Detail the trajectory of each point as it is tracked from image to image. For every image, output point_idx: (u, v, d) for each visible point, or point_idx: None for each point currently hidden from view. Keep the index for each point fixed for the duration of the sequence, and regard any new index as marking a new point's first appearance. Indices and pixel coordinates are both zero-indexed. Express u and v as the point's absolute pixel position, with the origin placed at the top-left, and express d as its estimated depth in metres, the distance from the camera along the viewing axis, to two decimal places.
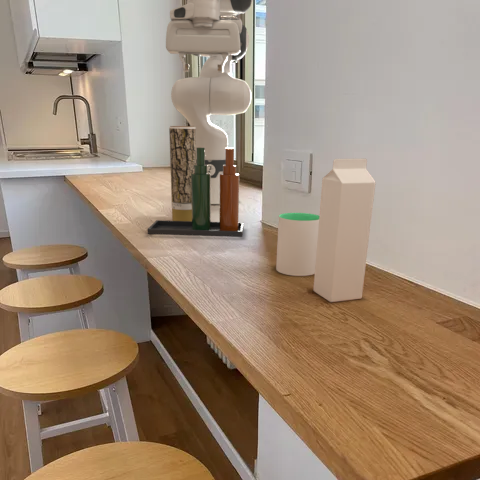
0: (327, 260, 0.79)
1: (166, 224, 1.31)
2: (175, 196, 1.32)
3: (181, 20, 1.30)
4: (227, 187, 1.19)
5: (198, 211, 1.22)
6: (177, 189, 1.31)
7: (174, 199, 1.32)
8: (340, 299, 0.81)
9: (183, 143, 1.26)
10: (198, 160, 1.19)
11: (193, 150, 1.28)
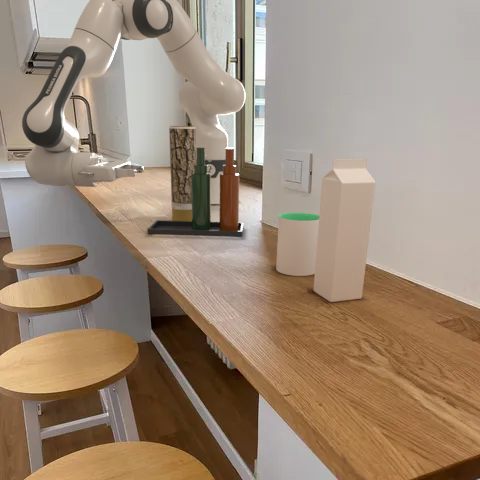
0: (327, 260, 0.79)
1: (166, 224, 1.31)
2: (175, 196, 1.32)
3: None
4: (227, 187, 1.19)
5: (198, 211, 1.22)
6: (177, 189, 1.31)
7: (174, 199, 1.32)
8: (340, 299, 0.81)
9: (183, 143, 1.26)
10: (198, 160, 1.19)
11: (193, 150, 1.28)
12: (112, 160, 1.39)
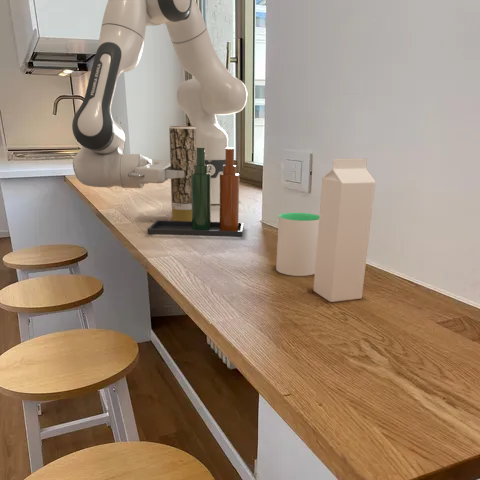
0: (327, 260, 0.79)
1: (166, 224, 1.31)
2: (175, 196, 1.32)
3: None
4: (227, 187, 1.19)
5: (198, 211, 1.22)
6: (177, 189, 1.31)
7: (174, 199, 1.32)
8: (340, 299, 0.81)
9: (183, 143, 1.26)
10: (198, 160, 1.19)
11: (193, 150, 1.28)
12: (157, 161, 1.39)
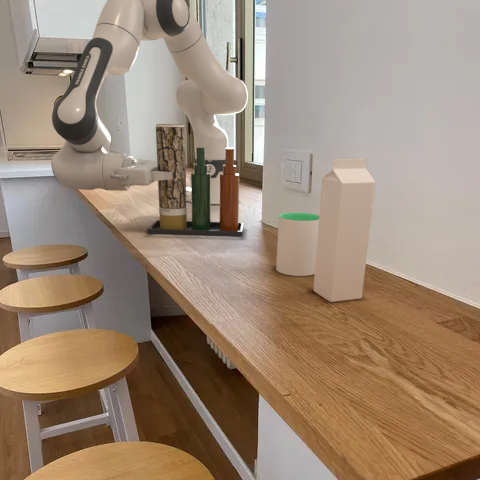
0: (327, 260, 0.79)
1: None
2: (163, 201, 1.21)
3: None
4: (227, 187, 1.19)
5: (198, 211, 1.22)
6: (165, 193, 1.19)
7: (161, 204, 1.21)
8: (340, 299, 0.81)
9: (170, 142, 1.15)
10: (198, 160, 1.19)
11: (182, 150, 1.17)
12: (144, 161, 1.27)
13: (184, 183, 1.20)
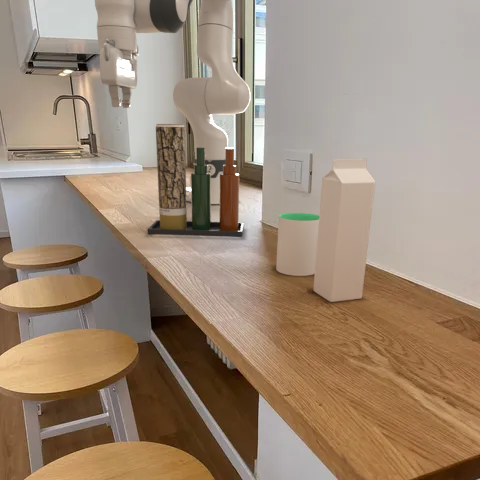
0: (327, 260, 0.79)
1: None
2: (163, 201, 1.21)
3: None
4: (227, 187, 1.19)
5: (198, 211, 1.22)
6: (165, 193, 1.19)
7: (161, 204, 1.21)
8: (340, 299, 0.81)
9: (170, 142, 1.15)
10: (198, 160, 1.19)
11: (182, 150, 1.17)
12: (134, 67, 1.25)
13: (184, 183, 1.20)
